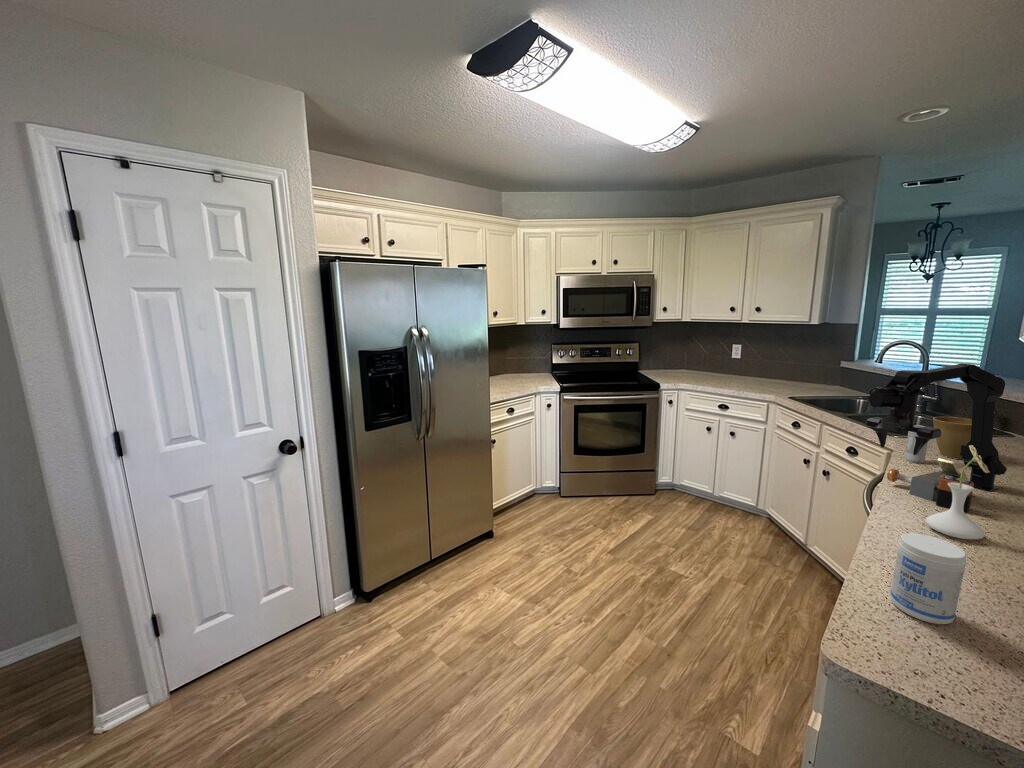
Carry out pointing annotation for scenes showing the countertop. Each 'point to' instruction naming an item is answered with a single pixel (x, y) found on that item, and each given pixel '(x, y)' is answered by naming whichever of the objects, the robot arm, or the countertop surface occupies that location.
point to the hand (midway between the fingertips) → (898, 450)
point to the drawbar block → (928, 484)
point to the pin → (899, 477)
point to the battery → (946, 493)
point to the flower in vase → (958, 509)
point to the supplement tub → (928, 578)
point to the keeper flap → (949, 467)
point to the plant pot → (952, 435)
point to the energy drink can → (910, 448)
